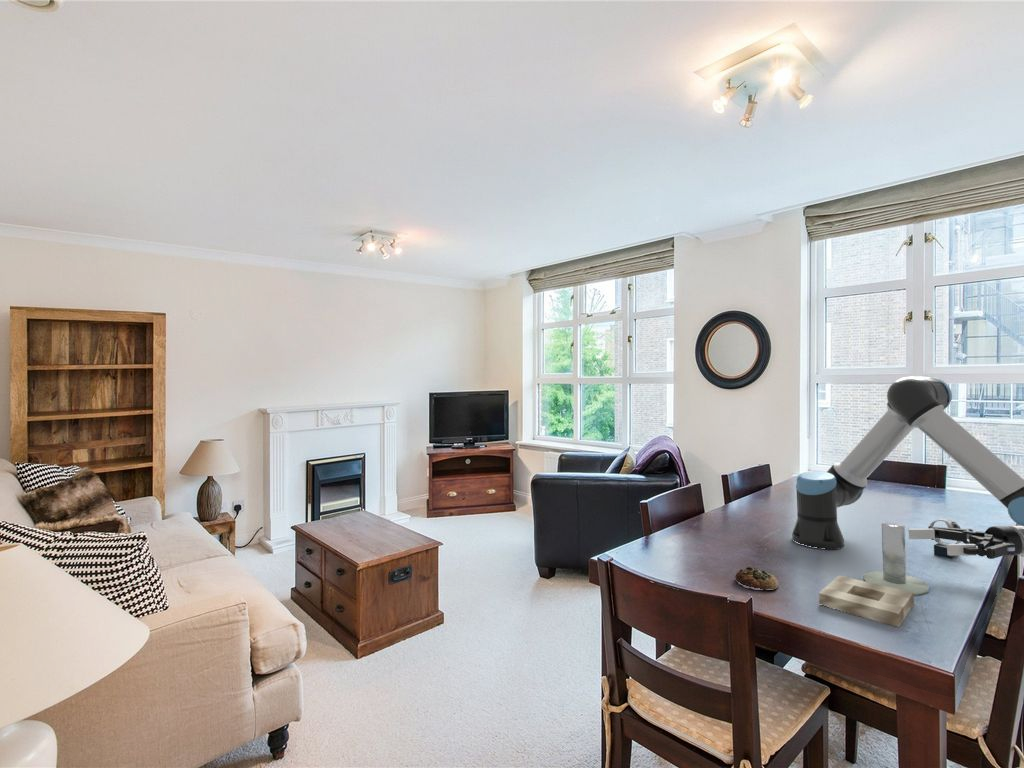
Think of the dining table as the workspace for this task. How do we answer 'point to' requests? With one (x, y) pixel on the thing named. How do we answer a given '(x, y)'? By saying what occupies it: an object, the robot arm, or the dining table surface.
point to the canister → (894, 553)
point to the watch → (941, 547)
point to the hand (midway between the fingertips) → (927, 541)
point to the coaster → (911, 584)
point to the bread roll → (756, 578)
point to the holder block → (868, 600)
